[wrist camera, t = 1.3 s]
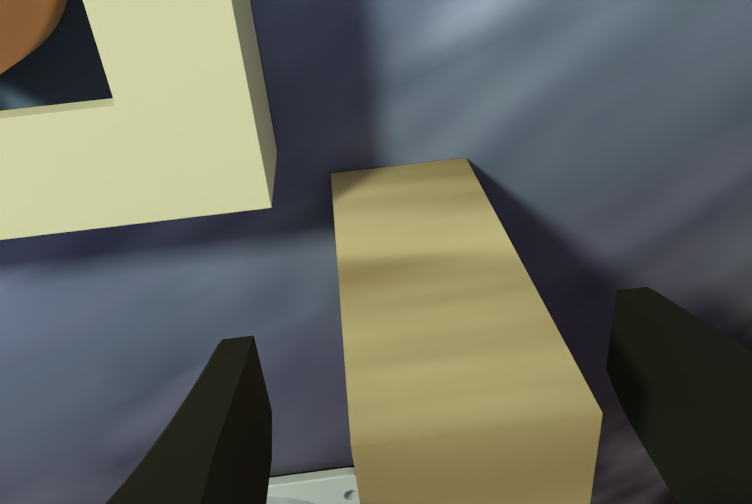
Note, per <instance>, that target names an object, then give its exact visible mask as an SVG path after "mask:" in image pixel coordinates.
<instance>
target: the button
mask: <svg viewBox="0 0 752 504" xmlns="http://www.w3.org/2000/svg"><path fill="white" fill-rule="evenodd" d="M66 4H67V0H0V74H1V73H3V72H4V71H6V70H7V69H9V68H10V67H11V66H13V65H14V64H16V63H17V62H19V61H20V60H22V59H23V58H25V57H26V56H27V55H29V54H30V53H31V52H33V51H34V50H36V49H37V48H38V47H39V46H40V45H41V44H42V43H43V42H44V41H45V40H46V39H47V38H48V37H49V36H50V35H51V33H52V32H53V30H54V29H55V28H56V26H57V25H58V23H59V21H60V19H61V17H62V14H63V12H64V10H65V7H66Z"/></svg>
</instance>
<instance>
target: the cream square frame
mask: <svg viewBox="0 0 752 504" xmlns="http://www.w3.org/2000/svg"><path fill="white" fill-rule="evenodd" d="M83 3H84V6H85V9H86V12H87V16H88V19H89V22H90V25H91V29H92V32H93V35H94V38H95V41H96V45H97V48H98V51H99V54H100V58H101V61H102V64H103V67H104V71H105V74H106V77H107V80H108V83H109V87H110V90H111V93H112V96H113V98H110V99H101V100H92V101H83V102H75V103H66V104H57V105H48V106H39V107H30V108H21V109H12V110H3V111H0V240H4V239H12V238H20V237H29V236H37V235H46V234H54V233H63V232H71V231H79V230H88V229H96V228H105V227H113V226H122V225H130V224H139V223H147V222H155V221H164V220H172V219H181V218H189V217H198V216H206V215H214V214H223V213H231V212H240V211H248V210H257V209H265V208H271V207H272V198H273V188H274V178H275V169H276V159H277V149H276V143H275V137H274V132H273V126H272V121H271V115H270V110H269V104H268V98H267V93H266V87H265V82H264V76H263V70H262V65H261V59H260V54H259V48H258V43H257V37H256V31H255V26H254V20H253V15H252V9H251V3H250V0H83Z"/></svg>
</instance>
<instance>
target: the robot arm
mask: <svg viewBox="0 0 752 504" xmlns="http://www.w3.org/2000/svg"><path fill="white" fill-rule="evenodd" d="M606 369H607V372H608V374H609V377H610V379H611V382H612V384H613V387H614V389H615V392H616V394H617V397H618V399H619V401H620V403H621V406H622V408H623V410H624V413H625V414H626V416H627V418H628V420H629V422H630V423H631V425H632V427H633V429H634V430H635V432H636V434H637V435H638V437H639V439H640V441H641V442H642V444H643V446H644V447H645V449H646V451H647V453H648V454H649V456H650V458H651V459H652V461H653V463H654V464H655V466H656V468H657V469H658V471H659V473H660V474H661V476H662V478H663V480H664V481H665V483H666V485H667V486H668V488H669V490H670V491H671V493H672V495H673V496H674V498H675V500H676V501H677V503H678V504H752V351H751V350H749V349H748V348H746V347H744V346H743V345H741V344H739V343H737V342H736V341H734V340H733V339H731V338H729V337H728V336H726V335H724V334H723V333H721V332H719V331H718V330H716V329H715V328H713V327H711V326H710V325H708V324H707V323H705V322H704V321H702V320H700V319H699V318H697V317H696V316H694V315H692V314H691V313H689V312H688V311H686V310H685V309H683V308H681V307H680V306H678V305H677V304H675V303H673V302H672V301H670V300H669V299H667V298H665V297H664V296H662V295H661V294H659V293H657V292H655V291H654V290H652V289H650V288H648V287H643V288H634V289H626V290H618V291H617V295H616V302H615V309H614V316H613V323H612V330H611V337H610V344H609V352H608V359H607V366H606ZM271 460H272V410H271V406H270V402H269V398H268V394H267V389H266V385H265V381H264V377H263V373H262V369H261V364H260V360H259V356H258V352H257V348H256V343H255V339H254V336H247V337H239V338H231V339H223V340H222V341H221V342H220V343H219V344H218V345H217V347H216V349H215V351H214V352H213V354H212V356H211V358H210V359H209V361H208V363H207V365H206V366H205V368H204V370H203V371H202V373H201V375H200V376H199V378H198V380H197V381H196V383H195V385H194V386H193V388H192V389H191V391H190V393H189V394H188V396H187V397H186V399H185V400H184V402H183V403H182V405H181V406H180V408H179V409H178V411H177V412H176V414H175V415H174V417H173V419H172V420H171V421H170V423H169V424H168V426H167V427H166V429H165V430H164V431H163V433H162V434H161V435H160V437H159V438H158V439H157V441H156V442H155V444H154V445H153V446H152V448H151V449H150V450H149V452H148V453H147V454H146V456H145V457H144V458H143V460H142V461H141V462H140V464H139V465H138V466H137V467H136V468H135V470H134V471H133V472H132V473H131V475H130V476H129V477H128V478H127V480H126V481H125V482H124V483H123V484H122V485H121V487H120V488H119V489H118V490H117V491H116V492H115V493H114V495H113V496H112V497H111V498H110V499H109V500H108V502H107V503H106V504H360V501H359V495H358V488H357V482H356V475H355V469H354V468H353V467H347V468H339V469H332V470H324V471H317V472H309V473H302V474H294V475H287V476H279V477H272V478H270V469H271ZM350 490H352V491H350Z"/></svg>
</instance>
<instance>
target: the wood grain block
mask: <svg viewBox="0 0 752 504" xmlns="http://www.w3.org/2000/svg"><path fill="white" fill-rule="evenodd" d="M331 183H332V196H333V210H334V223H335V237H336V250H337V264H338V277H339V291H340V304H341V317H342V331H343V344H344V358H345V371H346V385H347V398H348V412H349V425H350V438H351V449H352V456H353V462H354V469H355V475H356V482H357V488H358V495H359V501H360V504H590V500H591V493H592V486H593V479H594V472H595V465H596V458H597V450H598V443H599V436H600V429H601V422H602V415H603V413H602V411H601V409H600V407H599V405H598V404H597V402H596V400H595V398H594V396H593V394H592V392H591V390H590V389H589V387H588V385H587V383H586V381H585V379H584V377H583V376H582V374H581V372H580V370H579V368H578V366H577V364H576V363H575V361H574V359H573V357H572V355H571V353H570V351H569V349H568V348H567V346H566V344H565V342H564V340H563V338H562V336H561V335H560V333H559V331H558V329H557V327H556V325H555V323H554V321H553V320H552V318H551V316H550V314H549V312H548V310H547V308H546V307H545V305H544V303H543V301H542V299H541V297H540V295H539V293H538V292H537V290H536V288H535V286H534V284H533V282H532V280H531V279H530V277H529V275H528V273H527V271H526V269H525V267H524V265H523V264H522V262H521V260H520V258H519V256H518V254H517V252H516V251H515V249H514V247H513V245H512V243H511V241H510V239H509V237H508V236H507V234H506V232H505V230H504V228H503V226H502V224H501V223H500V221H499V219H498V217H497V215H496V213H495V211H494V209H493V208H492V206H491V204H490V202H489V200H488V198H487V196H486V195H485V193H484V191H483V189H482V187H481V185H480V183H479V181H478V180H477V178H476V176H475V174H474V172H473V170H472V168H471V167H470V165H469V163H468V161H467V159H466V158H459V159H451V160H442V161H433V162H425V163H416V164H408V165H399V166H391V167H382V168H374V169H365V170H356V171H348V172H339V173H331Z"/></svg>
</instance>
